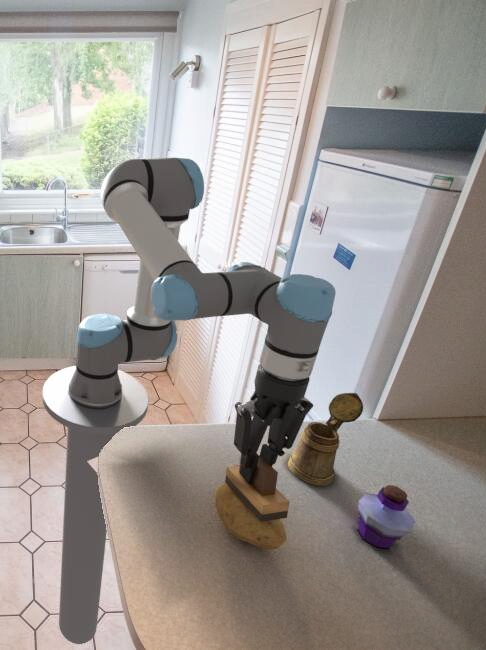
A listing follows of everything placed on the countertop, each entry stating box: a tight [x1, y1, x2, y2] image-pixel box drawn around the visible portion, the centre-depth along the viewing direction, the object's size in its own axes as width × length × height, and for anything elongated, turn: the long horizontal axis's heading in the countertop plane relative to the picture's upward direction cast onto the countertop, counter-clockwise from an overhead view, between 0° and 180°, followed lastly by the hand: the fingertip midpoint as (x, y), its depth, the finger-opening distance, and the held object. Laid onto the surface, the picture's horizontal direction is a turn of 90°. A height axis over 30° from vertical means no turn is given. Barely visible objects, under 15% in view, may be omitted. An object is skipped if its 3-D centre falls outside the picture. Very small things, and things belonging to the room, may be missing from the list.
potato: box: [214, 482, 288, 550], centre depth 85 cm, size 10×14×8 cm
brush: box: [224, 453, 290, 522], centre depth 82 cm, size 11×5×8 cm, turn 9°
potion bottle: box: [357, 484, 417, 551], centre depth 84 cm, size 9×9×12 cm
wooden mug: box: [287, 392, 364, 486], centre depth 99 cm, size 9×14×18 cm, turn 118°
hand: (253, 477), depth 83 cm, fingers closed on brush, 2 cm apart
